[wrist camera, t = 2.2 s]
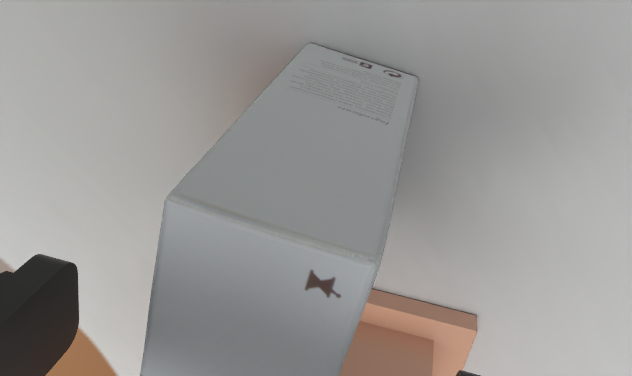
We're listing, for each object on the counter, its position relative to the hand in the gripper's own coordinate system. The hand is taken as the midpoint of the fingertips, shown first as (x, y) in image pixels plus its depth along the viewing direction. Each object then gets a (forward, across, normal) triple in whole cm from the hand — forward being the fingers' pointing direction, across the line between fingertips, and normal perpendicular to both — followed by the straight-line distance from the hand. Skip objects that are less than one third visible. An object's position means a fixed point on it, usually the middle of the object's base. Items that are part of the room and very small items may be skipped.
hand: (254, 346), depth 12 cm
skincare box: (+12, 0, 0) cm, 12 cm away
